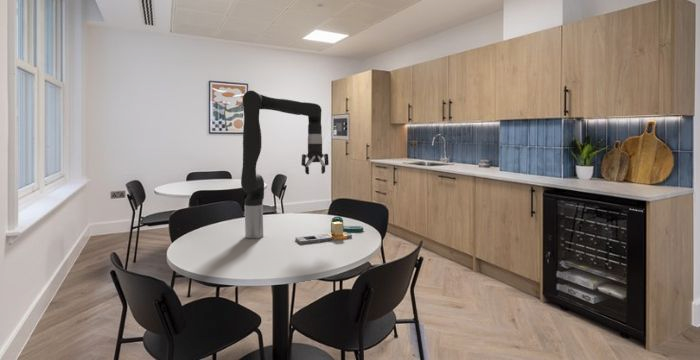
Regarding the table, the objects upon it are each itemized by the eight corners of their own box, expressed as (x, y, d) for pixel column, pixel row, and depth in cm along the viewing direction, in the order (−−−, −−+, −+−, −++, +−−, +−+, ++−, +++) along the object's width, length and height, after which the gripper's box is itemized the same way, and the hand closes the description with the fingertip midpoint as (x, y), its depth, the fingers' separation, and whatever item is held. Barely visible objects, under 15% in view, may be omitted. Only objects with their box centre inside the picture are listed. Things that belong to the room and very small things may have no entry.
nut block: (331, 237, 206) (331, 222, 205) (339, 236, 208) (339, 221, 207) (335, 239, 202) (335, 224, 201) (343, 238, 204) (343, 223, 203)
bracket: (331, 232, 217) (330, 218, 216) (331, 229, 223) (331, 216, 223) (363, 232, 217) (363, 218, 216) (363, 229, 224) (363, 216, 223)
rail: (295, 240, 200) (295, 237, 199) (345, 234, 212) (345, 231, 212) (300, 244, 192) (300, 241, 192) (351, 238, 205) (351, 235, 204)
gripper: (324, 142, 211) (325, 172, 212) (299, 142, 204) (300, 173, 206) (330, 142, 204) (330, 173, 206) (304, 143, 198) (304, 175, 200)
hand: (315, 173), depth 206 cm, fingers open, 8 cm apart
